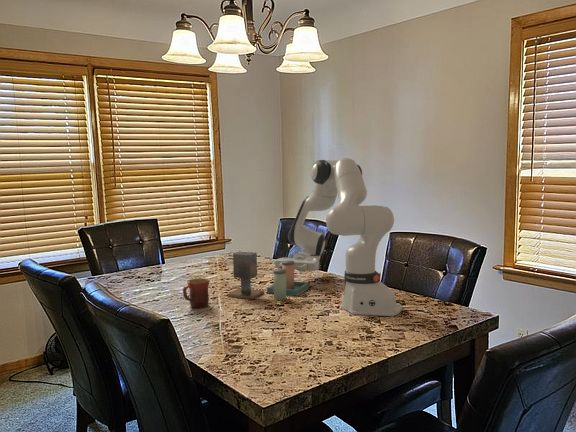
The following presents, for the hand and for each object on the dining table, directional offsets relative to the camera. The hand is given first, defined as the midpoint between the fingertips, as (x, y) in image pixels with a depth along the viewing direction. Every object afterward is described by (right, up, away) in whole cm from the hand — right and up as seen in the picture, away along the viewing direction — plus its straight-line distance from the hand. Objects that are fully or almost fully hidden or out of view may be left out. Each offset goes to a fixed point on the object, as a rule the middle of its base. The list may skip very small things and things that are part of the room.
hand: (289, 267), depth 211 cm
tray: (-1, -10, -1) cm, 10 cm away
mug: (-37, -13, -23) cm, 45 cm away
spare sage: (-4, -11, -14) cm, 18 cm away
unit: (-19, -11, -7) cm, 23 cm away
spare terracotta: (-1, -9, -1) cm, 9 cm away
